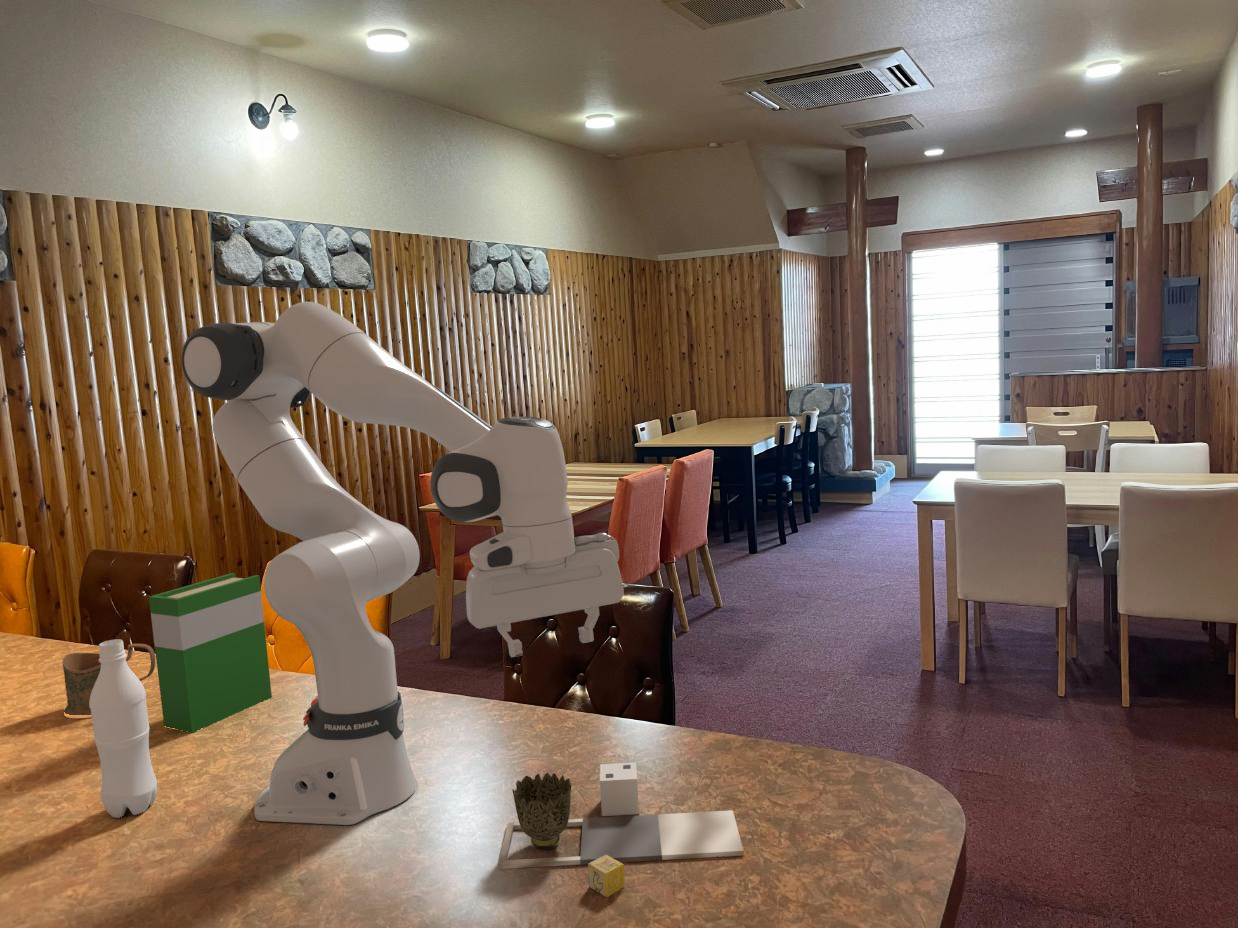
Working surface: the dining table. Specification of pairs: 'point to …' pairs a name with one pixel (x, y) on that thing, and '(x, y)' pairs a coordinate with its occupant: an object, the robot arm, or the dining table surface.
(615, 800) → the die
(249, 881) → the dining table surface
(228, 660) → the hardback book
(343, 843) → the dining table surface
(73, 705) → the mug
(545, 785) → the cup
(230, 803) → the dining table surface
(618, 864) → the alphabet block
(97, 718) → the water bottle
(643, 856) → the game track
